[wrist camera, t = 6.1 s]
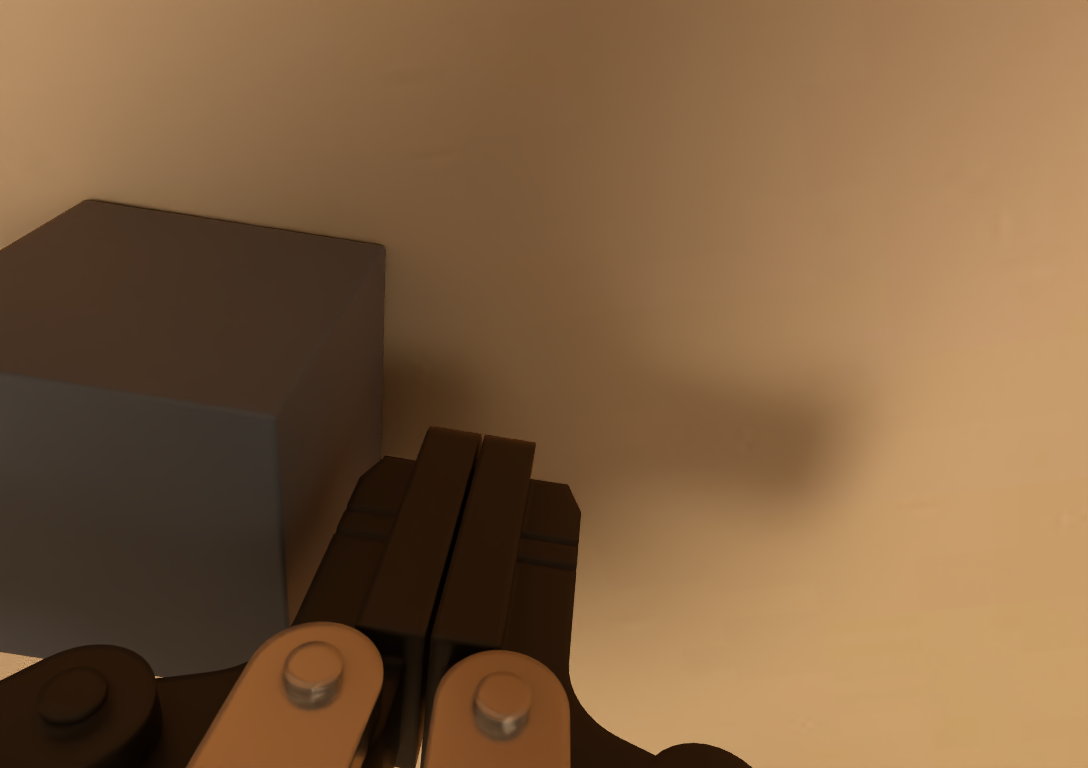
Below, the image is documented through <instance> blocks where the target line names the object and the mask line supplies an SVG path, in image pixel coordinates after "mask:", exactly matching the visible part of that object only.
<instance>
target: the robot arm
mask: <svg viewBox="0 0 1088 768" xmlns="http://www.w3.org/2000/svg"><path fill="white" fill-rule="evenodd" d="M481 445H482V446H481ZM535 447H536V443H535V442H529V441H523V440H517V439H510V438H504V437H498V436H491V435H485V436H484V439H483V442H482V434H478V433H471V432H465V431H459V430H452V429H446V428H440V427H434V426H430V427H429V428H428V430H427V433H426V435H425V438H424V441H423V443H422V446H421V449H420V451H419V454H418V457H417V459H416V461H415V460H408V459H402V458H396V457H390V456H385V457H384V458H382V459H381V460H380V461H379V462H378V463H376V464H375V465H374V466H373V467H371V468H370V469H369V470H368V471H367V472H365V473H364V474H363V475H362V476H360V478H359V480H358V482H357V484H356V486H355V488H354V491H353V493H352V495H351V497H350V499H349V502H348V504H347V509H346V510H344V513H343V515H342V517H341V519H340V521H339V523H338V526H337V529H336V533H334V534H333V537H332V539H331V541H330V543H329V545H328V547H327V550H326V552H325V554H324V556H323V558H322V561H321V563H320V565H319V567H318V569H317V571H316V574H315V576H314V578H313V580H312V582H311V585H310V587H309V589H308V591H307V593H306V595H305V598H304V600H303V602H302V604H301V606H300V609H299V611H298V613H297V615H296V617H295V619H294V621H293V623H292V625H291V626H290V628H288V629H285V630H283V631H281V632H279V633H277V634H276V635H274V636H272V637H271V638H270V639H268V640H267V641H266V642H264V643H263V644H262V645H261V646H260V647H259V648H258V649H257V650H256V651H255V653H254V654H253V656H252V657H251V658H250V660H249V661H247V662H245V663H243V664H240V665H237V666H234V667H231V668H227V669H223V670H218V671H212V672H204V673H196V674H188V675H180V676H172V677H163V678H155V676H154V672H153V670H152V668H151V667H150V665H149V663H148V662H147V661H146V660H145V659H144V658H143V657H142V656H140V655H139V654H137V653H136V652H134V651H132V650H129V649H127V648H124V647H120V646H115V645H105V644H96V645H85V646H80V647H75V648H71V649H68V650H65V651H62V652H59V653H56V654H54V655H52V656H49V657H47V658H45V659H43V660H41V661H39V662H37V663H35V664H33V665H31V666H29V667H27V668H25V669H23V670H21V671H19V672H17V673H15V674H13V675H11V676H9V677H7V678H5V679H3V680H1V681H0V768H394V767H399V768H415V767H416V763H417V759H418V755H419V751H420V747H421V743H422V753H421V766H420V768H752V767H751V766H749V765H748V764H747V763H746V762H744V761H743V760H742V759H740V758H738V757H737V756H735V755H733V754H732V753H730V752H728V751H725V750H723V749H721V748H718V747H714V746H711V745H707V744H699V743H686V744H680V745H675V746H672V747H669V748H667V749H665V750H663V751H661V752H660V753H659V754H657V755H656V756H655V755H653V754H651V753H649V752H647V751H645V750H643V749H641V748H639V747H637V746H635V745H633V744H631V743H629V742H627V741H625V740H623V739H621V738H619V737H617V736H615V735H614V734H612V733H610V732H608V731H607V730H606V729H604V728H603V727H602V726H600V725H599V724H598V723H597V722H596V721H595V720H594V719H593V718H592V717H591V716H590V715H589V714H588V713H587V712H586V711H585V709H584V708H583V707H582V705H581V704H580V702H579V701H578V699H577V697H576V695H575V693H574V690H573V688H572V685H571V681H570V676H569V655H570V643H571V631H572V618H573V606H574V593H575V581H576V567H577V556H578V543H579V531H580V519H581V511H580V509H579V507H578V505H577V503H576V501H575V499H574V496H573V494H572V492H571V490H570V488H569V486H568V485H566V484H560V483H554V482H547V481H541V480H535V479H531V473H532V467H533V460H534V454H535ZM422 739H423V741H422Z"/></svg>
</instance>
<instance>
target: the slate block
mask: <svg viewBox="0 0 1088 768" xmlns="http://www.w3.org/2000/svg"><path fill="white" fill-rule="evenodd" d="M385 256H386V250H385V247H384V246H382V245H376V244H370V243H363V242H357V241H350V240H344V239H337V238H331V237H324V236H318V235H311V234H305V233H298V232H292V231H285V230H278V229H272V228H265V227H259V226H252V225H246V224H239V223H233V222H226V221H220V220H213V219H207V218H200V217H194V216H187V215H181V214H174V213H168V212H161V211H155V210H148V209H142V208H135V207H129V206H122V205H116V204H109V203H103V202H96V201H90V200H85V201H82V202H81V203H79V204H77V205H76V206H74V207H72V208H71V209H69V210H67V211H65V212H64V213H62V214H60V215H59V216H57V217H55V218H54V219H52V220H50V221H49V222H47V223H45V224H44V225H42V226H40V227H39V228H37V229H35V230H34V231H32V232H30V233H29V234H27V235H25V236H24V237H22V238H20V239H19V240H17V241H15V242H14V243H12V244H10V245H9V246H7V247H5V248H4V249H2V250H0V652H4V653H11V654H17V655H23V656H30V657H36V658H43V659H45V658H47V657H49V656H52V655H54V654H56V653H59V652H62V651H65V650H68V649H71V648H75V647H80V646H85V645H96V644H105V645H115V646H120V647H124V648H127V649H129V650H132V651H134V652H136V653H137V654H139V655H140V656H142V657H143V658H144V659H145V660H146V661H147V662H148V663H149V665H150V667H151V668H152V670H153V672H154V676H159V677H172V676H180V675H188V674H196V673H204V672H212V671H218V670H223V669H227V668H231V667H234V666H237V665H240V664H243V663H245V662H247V661H249V660H250V658H251V657H252V656H253V654H254V653H255V651H256V650H257V649H258V648H259V647H260V646H261V645H262V644H263V643H264V642H266V641H267V640H268V639H270V638H271V637H272V636H274V635H276V634H277V633H279V632H281V631H283V630H285V629H288V628H290V626H291V625H292V623H293V621H294V619H295V617H296V615H297V613H298V611H299V609H300V606H301V604H302V602H303V600H304V598H305V595H306V593H307V591H308V589H309V587H310V585H311V582H312V580H313V578H314V576H315V574H316V571H317V569H318V567H319V565H320V563H321V561H322V558H323V556H324V554H325V552H326V550H327V547H328V545H329V543H330V541H331V539H332V537H333V534H334V533H336V529H337V526H338V523H339V521H340V519H341V517H342V515H343V513H344V510H346V509H347V504H348V502H349V499H350V497H351V495H352V493H353V491H354V488H355V486H356V484H357V482H358V480H359V478H360V476H362V475H363V474H364V473H365V472H367V471H368V470H369V469H370V468H371V467H373V466H374V465H375V464H376V463H378V462H379V461H380V460H381V420H382V379H383V338H384V297H385Z"/></svg>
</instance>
